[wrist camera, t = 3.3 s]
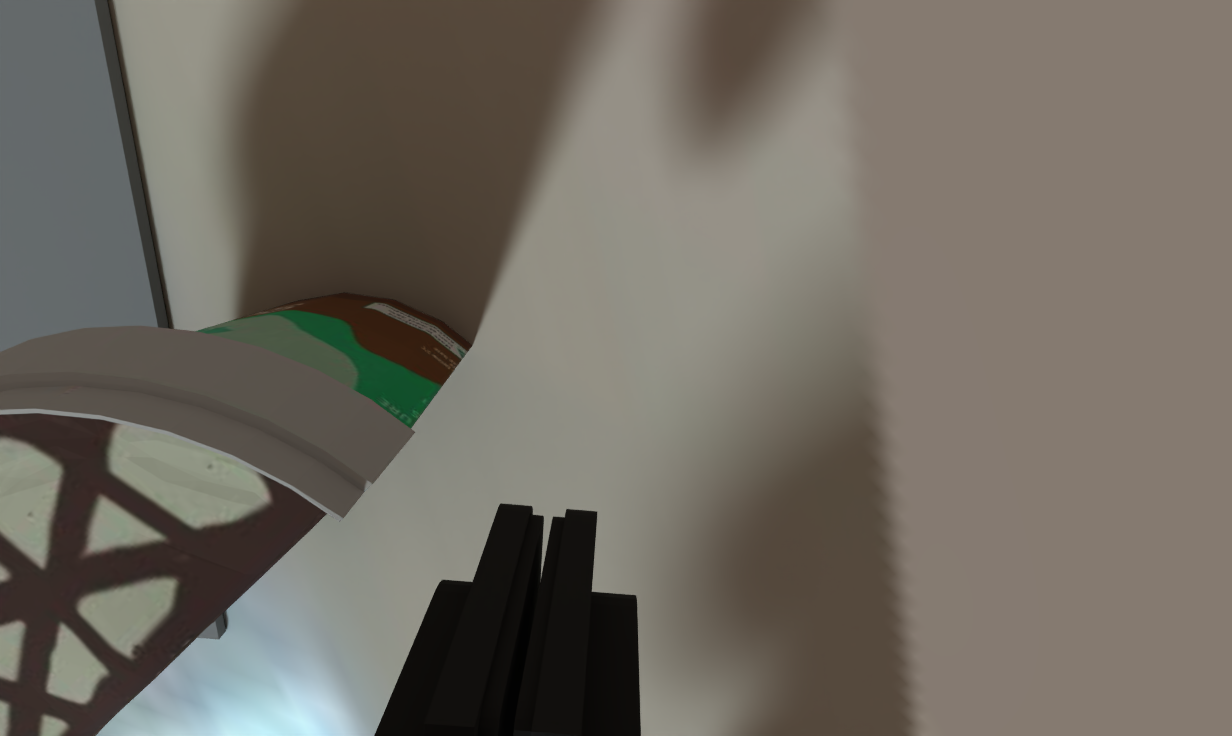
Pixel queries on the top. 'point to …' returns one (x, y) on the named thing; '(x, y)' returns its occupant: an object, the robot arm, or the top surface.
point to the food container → (182, 481)
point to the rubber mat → (70, 182)
